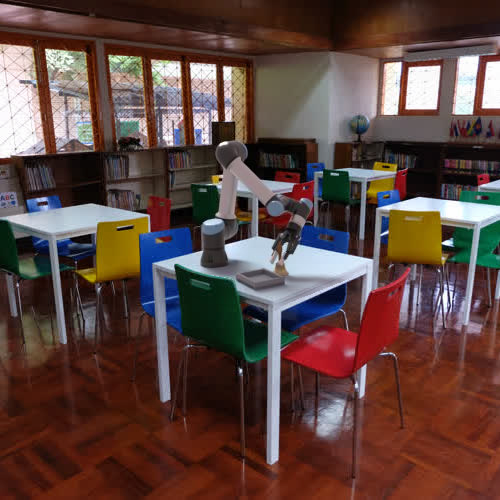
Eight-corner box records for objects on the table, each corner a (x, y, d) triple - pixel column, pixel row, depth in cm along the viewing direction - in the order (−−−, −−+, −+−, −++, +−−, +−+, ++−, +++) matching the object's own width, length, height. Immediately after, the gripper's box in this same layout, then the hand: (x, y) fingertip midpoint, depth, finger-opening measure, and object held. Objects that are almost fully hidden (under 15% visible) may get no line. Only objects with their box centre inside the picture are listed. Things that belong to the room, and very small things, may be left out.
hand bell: (279, 276, 244) (279, 245, 240) (268, 273, 250) (268, 242, 246) (291, 273, 248) (292, 242, 244) (281, 270, 255) (281, 239, 251)
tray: (236, 280, 239) (236, 273, 238) (264, 274, 247) (264, 268, 246) (255, 290, 224) (255, 282, 223) (284, 284, 232) (284, 277, 231)
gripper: (312, 232, 250) (293, 270, 242) (284, 227, 261) (264, 264, 253) (307, 223, 245) (287, 262, 237) (277, 219, 256) (258, 256, 248)
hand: (275, 263), depth 245 cm, fingers open, 5 cm apart
